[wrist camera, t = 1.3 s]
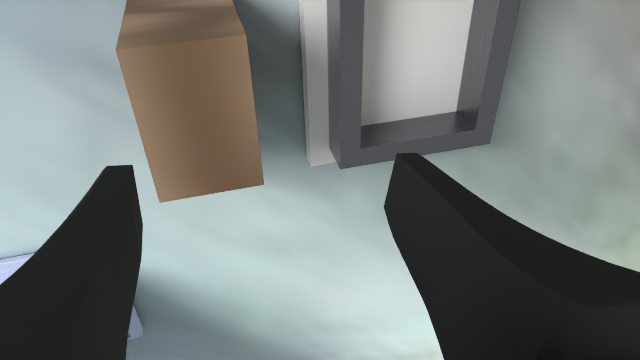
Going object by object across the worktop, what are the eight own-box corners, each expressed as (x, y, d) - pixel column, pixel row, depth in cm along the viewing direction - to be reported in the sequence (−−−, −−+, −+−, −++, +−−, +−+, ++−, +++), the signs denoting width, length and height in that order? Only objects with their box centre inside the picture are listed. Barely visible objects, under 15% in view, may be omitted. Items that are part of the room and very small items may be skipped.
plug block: (161, 126, 23) (159, 202, 18) (127, -3, 19) (116, 49, 15) (244, 114, 24) (264, 184, 19) (227, -13, 20) (246, 34, 15)
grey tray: (306, 156, 26) (320, 189, 24) (293, -99, 19) (311, -89, 16) (474, 129, 28) (503, 156, 25) (520, -113, 21) (565, -106, 18)
